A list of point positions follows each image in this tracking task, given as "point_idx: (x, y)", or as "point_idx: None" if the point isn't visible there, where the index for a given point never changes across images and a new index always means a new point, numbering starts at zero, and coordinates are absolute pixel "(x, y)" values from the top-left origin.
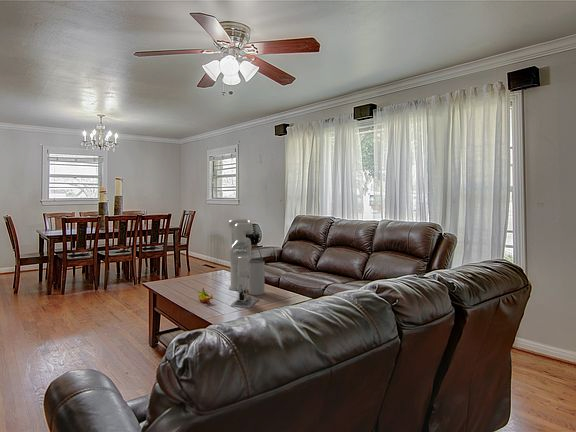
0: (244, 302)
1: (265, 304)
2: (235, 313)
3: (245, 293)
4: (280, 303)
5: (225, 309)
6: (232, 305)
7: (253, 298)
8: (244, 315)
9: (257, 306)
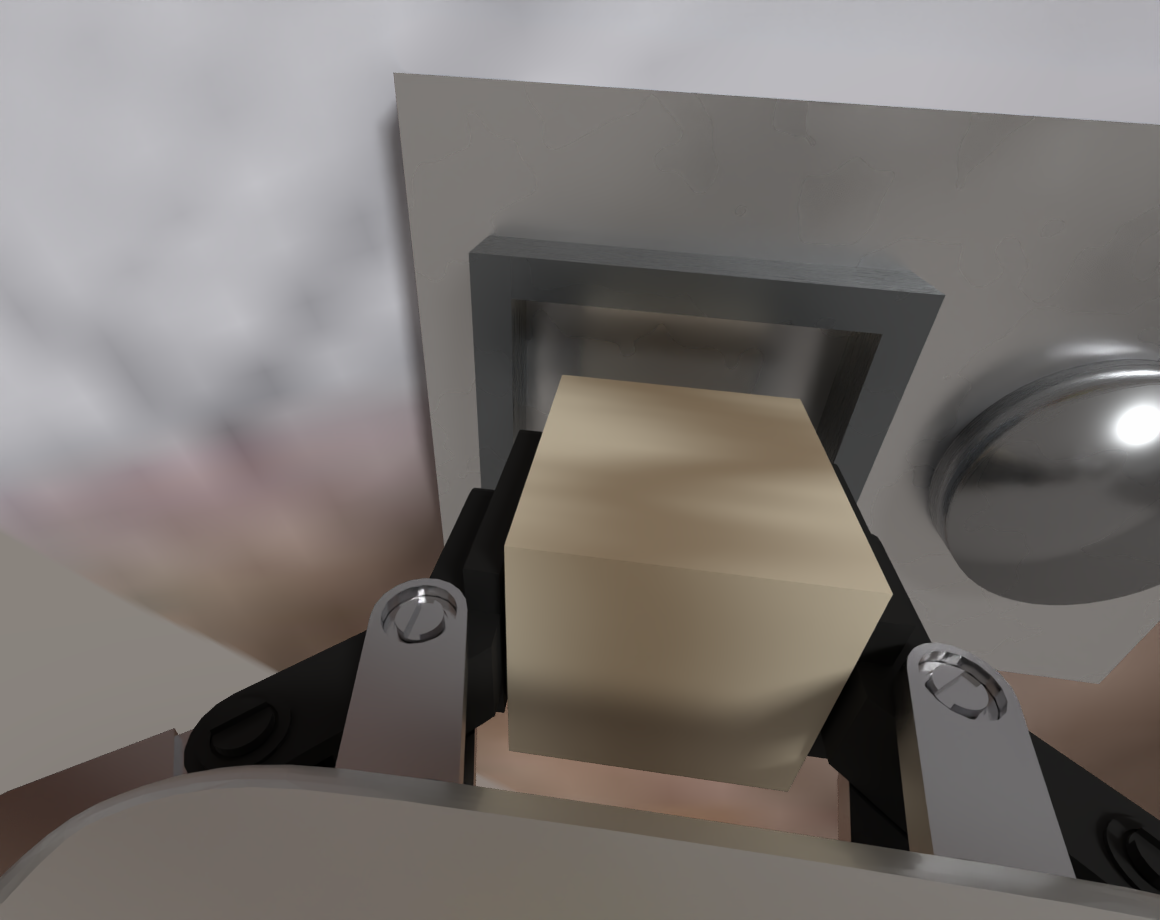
0: None
1: None
2: (10, 395)
3: (646, 756)
4: None
5: (49, 2)
6: (409, 155)
7: (1114, 602)
8: (49, 555)
9: None
